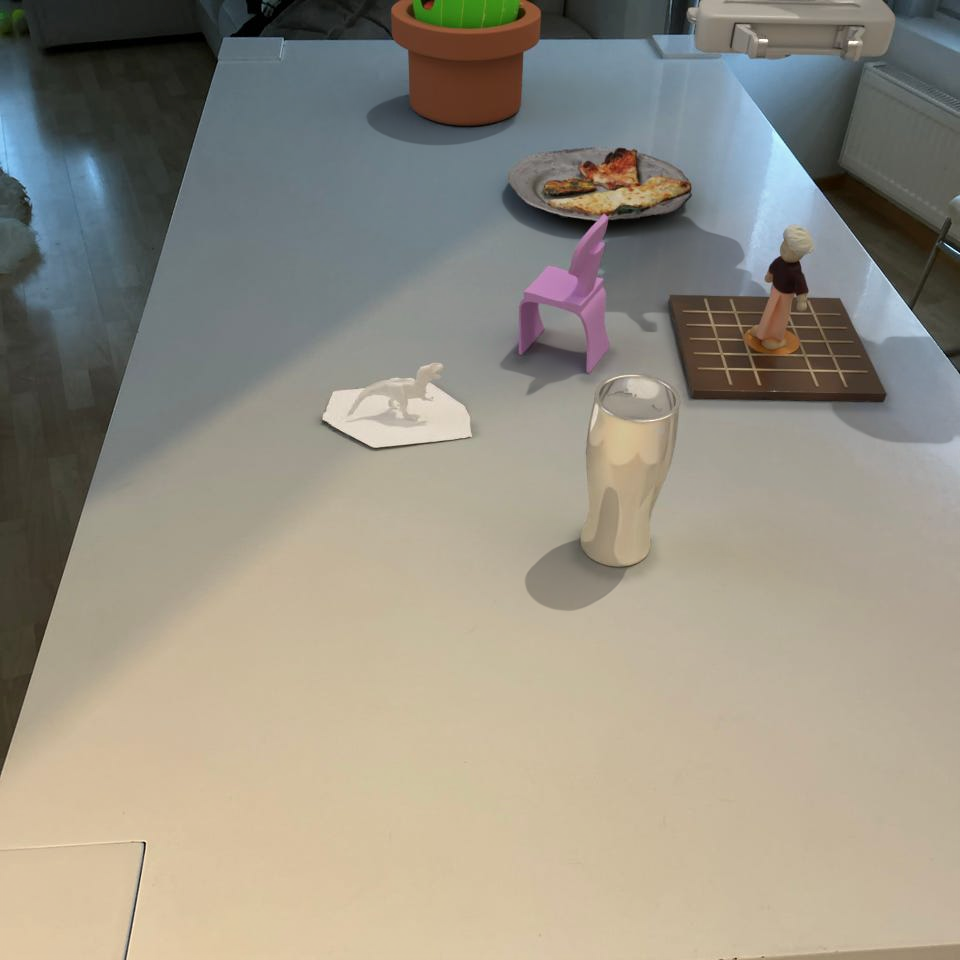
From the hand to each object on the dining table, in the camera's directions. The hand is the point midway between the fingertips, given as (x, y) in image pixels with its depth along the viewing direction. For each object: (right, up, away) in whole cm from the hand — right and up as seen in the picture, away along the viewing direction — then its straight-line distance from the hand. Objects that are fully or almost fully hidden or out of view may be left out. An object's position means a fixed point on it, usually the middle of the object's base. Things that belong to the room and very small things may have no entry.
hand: (806, 51), depth 98 cm
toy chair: (-23, -27, +10) cm, 37 cm away
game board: (0, -27, +11) cm, 29 cm away
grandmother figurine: (-1, -26, +10) cm, 28 cm away
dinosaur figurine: (-41, -36, +1) cm, 54 cm away
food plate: (-16, +2, +37) cm, 41 cm away
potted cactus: (-35, +27, +60) cm, 74 cm away
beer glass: (-21, -50, -12) cm, 56 cm away
